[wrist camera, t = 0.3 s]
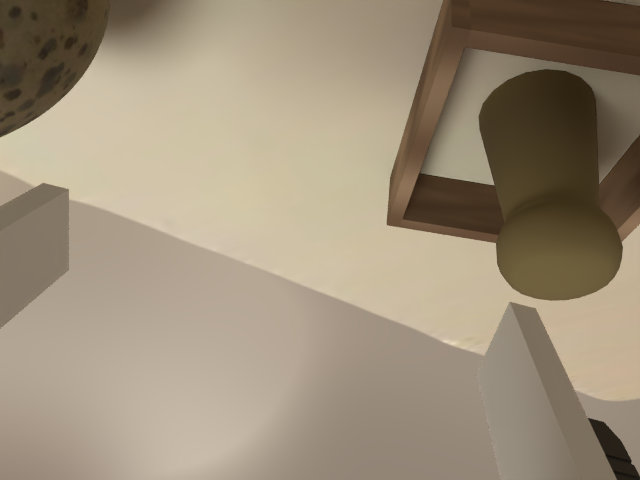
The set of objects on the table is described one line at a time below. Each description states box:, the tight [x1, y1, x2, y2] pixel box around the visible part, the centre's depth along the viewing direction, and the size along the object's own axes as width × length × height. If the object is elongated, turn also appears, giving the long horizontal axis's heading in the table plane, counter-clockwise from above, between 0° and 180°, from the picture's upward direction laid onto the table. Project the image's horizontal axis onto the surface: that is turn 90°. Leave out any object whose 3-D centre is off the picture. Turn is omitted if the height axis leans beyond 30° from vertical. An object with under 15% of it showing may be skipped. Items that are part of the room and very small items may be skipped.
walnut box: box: [387, 0, 640, 243], centre depth 28 cm, size 14×14×4 cm
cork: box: [479, 70, 623, 300], centre depth 26 cm, size 6×6×11 cm
